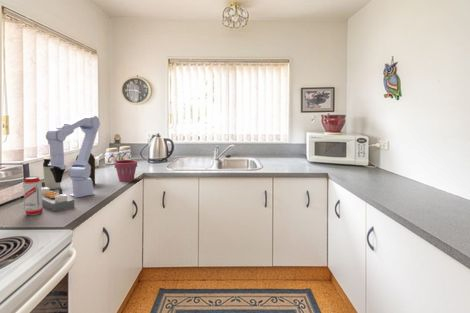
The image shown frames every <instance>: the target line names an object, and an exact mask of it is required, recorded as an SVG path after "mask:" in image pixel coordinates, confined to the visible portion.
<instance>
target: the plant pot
mask: <svg viewBox="0 0 470 313" xmlns="http://www.w3.org/2000/svg"><path fill="white" fill-rule="evenodd" d="M113 165H114V168H115V169H116V170H115V171H116V173H117V174H116V175H117V177H118V181H119V182H122V183H123V182H124V183H125V182H126V183H128V182H133V181H134V179H135V174H136V169H137V167H138V161H137V160H135V159H121V160H120V159H119V160H115V161H114V164H113Z"/></svg>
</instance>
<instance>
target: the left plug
mask: <svg viewBox="0 0 470 313" xmlns="http://www.w3.org/2000/svg"><path fill="white" fill-rule="evenodd" d="M50 191H51V189H50V188H47V187H45V182H44V181H42V182H41V192H42V194H44V193H48V192H50Z"/></svg>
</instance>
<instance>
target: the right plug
mask: <svg viewBox="0 0 470 313" xmlns="http://www.w3.org/2000/svg"><path fill="white" fill-rule="evenodd" d="M58 194H61V195H55V201H56V202H63V201H67V197H68V195H67V194H65V193H63V188H61V187H60V188H58Z"/></svg>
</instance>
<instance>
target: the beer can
mask: <svg viewBox="0 0 470 313" xmlns="http://www.w3.org/2000/svg"><path fill="white" fill-rule="evenodd" d="M41 188H42V182H41V179H40V176H36V175H35V176H27V177H24V181H23V195H24V198H23V199H24V208H25V214H26V215H27V216H37V215H40V214H42V212H43V210H44V207H43V206H42V192H41Z"/></svg>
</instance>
